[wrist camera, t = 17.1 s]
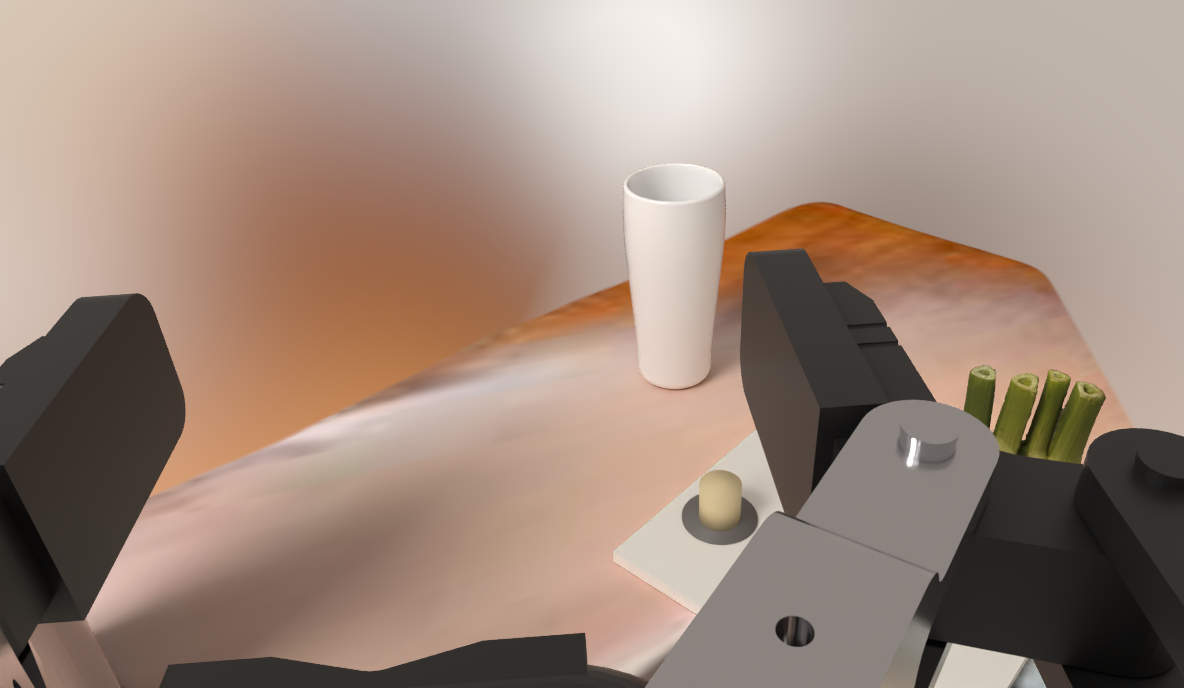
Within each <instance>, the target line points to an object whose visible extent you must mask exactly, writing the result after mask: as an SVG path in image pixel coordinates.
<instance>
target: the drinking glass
mask: <svg viewBox="0 0 1184 688" xmlns="http://www.w3.org/2000/svg"><path fill="white" fill-rule="evenodd" d="M725 203H726V200H725V181H724V179H723V177H722V176H721V175H720V174H719V173H717V172H716V171H714V170H711V169H709V168H706V167H703V166H698V165H693V164H682V163H670V164H660V165H653V166H649V167H646V168H642V169H640V170H638V171H635V172H633V173H632V174H630V175H629V176H628V177H627V178H626V179H625V181H624V184H623V231H624V243H625V253H626V261H627V269H628V277H629V285H630V292H631V300H632V308H633V316H634V324H635V332H636V341H637V357H638V369H639V372H640V374H641V375H642V377H643V378H644V379H645V380H646V381H648V382H649V383H651V384H653V385H655V386H658V387H661V388H666V389H683V388H688V387H691V386H694V385H696V384H698V383H700V382H701V381H702V380H704V379H705V378H706V376H707V375H708V373H709V371H710V367H711V347H712V338H713V329H714V321H715V313H716V305H717V297H718V289H719V281H720V273H721V265H722V258H723V249H724V238H725V237H724V236H725V219H726V204H725Z"/></svg>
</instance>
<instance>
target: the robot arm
mask: <svg viewBox="0 0 1184 688" xmlns="http://www.w3.org/2000/svg"><path fill="white" fill-rule="evenodd" d="M740 362H741V375H742V382H743V388H744V392H745V396H746V399H747V402H748V405H749V408H750V411H751V414H752V417H753V420H754V423H755V426H756V429H757V432H758V435H759V438H760V441H761V444H762V447H763V450H764V453H765V456H766V459H767V462H768V465H769V468H770V471H771V474H772V477H773V480H774V483H775V486H776V489H777V492H778V495H779V498H780V501H781V504H782V507H783V510H784V513H783V512H781V511H775V512H773V513H772V514H770V515H769V516H768V517H767V518H766V519H765V521H764V522H763V523H762V525H761V526H760V527H759V529H758V530H757V531H756V533H755V534H754V536H753V537H752V538H751V540H750V541H749V543H748V544H747V545H746V547H745V548H744V550H743V551H742V552H741V554H740V555H739V557H738V558H737V559H736V561H735V562H734V564H733V565H732V566H731V568H730V569H729V571H728V572H727V573H726V575H725V576H724V578H723V579H722V580H721V582H720V583H719V585H718V586H717V587H716V589H715V590H714V592H713V593H712V594H711V596H710V597H709V599H708V600H707V601H706V603H705V604H704V606H703V607H702V608H701V610H700V611H699V612H698V614H697V615H696V617H695V618H694V619H693V621H692V622H691V624H690V625H689V626H688V628H687V629H686V631H685V632H684V633H683V635H682V636H681V638H680V639H679V640H678V642H677V643H676V645H675V646H674V647H673V649H672V650H671V652H670V653H669V654H668V656H667V657H666V659H665V660H664V661H663V663H662V664H661V666H660V667H659V668H658V670H657V671H656V673H655V674H654V675H653V677H652V678H651V680H650V681H649V682H648V681H646V680H643V679H641V678H639V677H636V676H634V675H631V674H628V673H624V672H620V671H617V670H613V669H610V668H605V667H599V666H593V665H588V663H587V650H586V638H585V633H577V634H564V635H551V636H538V637H525V638H512V639H499V640H486V641H481V642H477V643H474V644H470V645H467V646H464V647H460V648H457V649H453V650H450V651H446V652H443V653H439V654H436V655H433V656H429V657H426V658H422V659H419V660H415V661H412V662H409V663H405V664H402V665H398V666H395V667H391V668H388V669H384V670H380V671H370V672H369V671H359V670H353V669H346V668H340V667H333V666H327V665H320V664H314V663H307V662H301V661H294V660H288V659H281V658H275V657H265V658H252V659H239V660H226V661H213V662H200V663H187V664H174V665H168V668H167V670H166V673H165V675H164V678H163V680H162V683H161V685H160V688H934V687H935V684H936V682H937V679H938V677H939V675H940V672H941V670H942V667H943V665H944V663H945V660H946V658H947V656H948V653H949V651H950V648H951V646H952V643H953V644H958V645H963V646H968V647H974V648H979V649H984V650H989V651H994V652H999V653H1005V654H1010V655H1015V656H1020V657H1025V658H1030V659H1033V660H1034V662H1035V664H1036V666H1037V668H1038V671H1039V673H1040V675H1041V677H1042V679H1043V681H1044V683H1045V685H1046V687H1047V688H1184V437H1183V436H1179V435H1176V434H1173V433H1169V432H1164V431H1159V430H1151V429H1142V428H1129V429H1119V430H1115V431H1110V432H1108V433H1105V434H1103V435H1101V436H1099V437H1098V438H1096V439H1095V440H1094V441H1093V442H1092V443H1091V445H1090V446H1089V449H1088V452H1087V455H1086V458H1085V461H1084V464H1076V463H1069V462H1061V461H1054V460H1047V459H1040V458H1033V457H1026V456H1021V455H1015V454H1011V453H1008V452H1004V451H1000V450H999V445H998V442H997V440H996V438H995V436H994V435H993V433H992V432H991V431H990V430H989V429H988V427H987V426H986V425H984V424H983V423H982V422H981V421H979V420H978V419H977V418H975V417H973V416H972V415H970V414H968V413H966V412H964V411H962V410H960V409H958V408H955V407H952V406H949V405H946V404H942V403H938V402H936V400H935V399H934V397H933V395H932V394H931V392H930V391H929V389H928V387H927V386H926V384H925V383H924V381H923V380H922V378H921V376H920V375H919V373H918V372H917V370H916V368H915V367H914V365H913V364H912V362H911V360H910V359H909V357H908V356H907V354H906V352H905V351H904V349H903V348H902V346H901V345H900V346H899V345H898V340H897V338H896V336H895V335H894V333H893V332H892V330H891V328H890V327H887V322H886V320H885V319H884V317H883V316H882V314H881V312H880V311H879V309H878V308H877V306H876V305H875V303H874V301H873V300H872V299H870V298H869V297H867V296H866V295H864V294H863V293H861V292H860V291H858V290H857V289H855V288H854V287H852V286H851V285H849V284H848V283H846V282H832V283H823V282H822V280H821V278H820V276H819V274H818V273H817V271H816V269H815V267H814V265H813V263H812V262H811V260H810V258H809V256H808V254H807V253H806V251H805V250H804V249H789V250H775V251H760V252H749V253H748V254H747V256H746V259H745V265H744V281H743V303H742V324H741V346H740ZM184 423H185V399H184V394H183V390H182V387H181V384H180V381H179V378H178V375H177V373H176V370H175V367H174V365H173V361H172V359H171V356H170V353H169V350H168V348H167V345H166V342H165V339H164V336H163V334H162V331H161V328H160V326H159V323H158V320H157V317H156V314H155V312H154V310H153V307H152V305H151V303H150V302H149V301H148V299H147V298H146V297H145V296H143V295H141V294H138V293H136V294H124V295H123V294H122V295H109V296H94V297H82V298H79V299H77V300H76V301H75V302H74V303H73V304H72V305H71V306H70V307H69V309H68V310H67V311H66V312H65V313H64V315H63V316H62V317H61V318H60V319H59V320H58V322H57V323H56V324H55V325H54V326H53V328H52V329H51V330H50V331H49V332H48V334H47V335H46V336H42V337H40V338H39V339H37V340H36V341H34V342H33V343H31V344H30V345H28V346H27V347H25V348H23V349H22V350H20V351H19V352H18V353H16V354H15V355H13V356H11V357H10V358H8V359H7V360H6V361H5V362H4V363H3V364H2V365H1V366H0V688H121V686H120V684H119V682H118V680H117V678H116V676H115V674H114V672H113V670H112V669H111V667H110V665H109V663H108V661H107V659H106V657H105V655H104V653H103V651H102V649H101V647H100V645H99V644H98V642H97V640H96V638H95V635H94V633H93V631H92V629H91V627H90V625H89V624H88V622H87V620H86V616H87V614H88V613H89V611H90V609H91V607H92V605H93V603H94V601H95V599H96V597H97V595H98V593H99V591H100V590H101V588H102V586H103V584H104V582H105V580H106V578H107V576H108V574H109V572H110V570H111V568H112V567H113V565H114V563H115V561H116V559H117V557H118V555H119V553H120V551H121V549H122V547H123V545H124V544H125V542H126V540H127V538H128V536H129V534H130V532H131V530H132V528H133V526H134V524H135V522H136V521H137V519H138V517H139V515H140V513H141V511H142V509H143V507H144V505H145V503H146V501H147V499H148V498H149V496H150V494H151V492H152V490H153V488H154V486H155V484H156V482H157V480H158V478H159V476H160V475H161V472H162V471H163V469H164V467H165V465H166V463H167V461H168V459H169V457H170V455H171V453H172V451H173V450H174V448H175V446H176V444H177V442H178V440H179V438H180V436H181V434H182V431H183V428H184Z"/></svg>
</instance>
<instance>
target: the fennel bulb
mask: <svg viewBox="0 0 1184 688" xmlns="http://www.w3.org/2000/svg"><path fill="white" fill-rule="evenodd" d="M995 380H996V371H995V369H992V368H991V366H984V365H983V366H980V367H976V368H973V369H972V370H971V371H970V374H969V380H968V387H967V395H966V401H965V406H964V412H966V413H968V414H970V415H972V416H973V417H975V418H977V419H978V420H979V421H981V422H982V423H983V424H984V425H986V426H987V427H988V429H989V430H990V422H991V415H992V409H993V401H994V392H995ZM1070 380H1071V379H1070V377H1069V376H1068V375H1067V374H1064V373H1061V372H1059V371H1057V370H1048V375H1047V379H1046V382H1045V385H1044V389H1043V392H1042V395H1041V398H1040V401H1039V404H1038V407H1037V409H1036V411H1035V414H1034V417H1033V420H1032V423H1031V426H1030V428H1029V432H1028V434H1027V435H1026V440H1023V441H1022V436H1023V433H1024V430H1025V427H1026V424H1027V421H1028V419H1029V418H1030V416H1031V410H1032V408H1033V405H1034V402H1035V398H1036V394H1037V392H1038V391H1037V388H1038V382H1039V378H1038V377H1037V376H1036V375H1033V374H1028V373H1026V374H1021V375H1017V376H1015V377H1012V379H1011V382H1010V385H1009V388H1008V392H1007V394H1006V396H1005V401H1004V403H1003V406H1002V409H1001V411H1000V414H999V417H998V420H997V423H996V426H995V430H994V432H993V435H994V436H995V438H996V440H997V442H998V445H999V450H1000V451H1004V452H1008V453H1011V454H1015V455H1021V456H1026V457H1033V458H1040V459H1047V460H1054V461H1061V462H1069V463H1076V464H1081V460H1082V454H1083V452H1084V448H1085V446H1086V443H1087V440H1088V437H1089V435H1090V432H1091V429H1092V427H1093V425H1094V423H1095V420H1096V417H1097V415H1098V413H1099V411H1100V409H1101V406H1102V405H1103V402H1104V401H1105V399H1106V397H1105V394H1104V393H1103V391H1102V390H1101V389H1099V388H1097V386H1096V385H1094V384H1090V383H1085V382H1079V381H1077V382H1076V384H1075V386H1074V388H1073V390H1072V392H1071V395H1070V397H1069V400H1068V401H1067V403H1066V405H1065V408H1064V409H1062V405H1063V402H1064V399H1065V397H1066V395H1067V390H1068V388H1069V385H1070Z"/></svg>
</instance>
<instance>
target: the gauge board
mask: <svg viewBox="0 0 1184 688" xmlns="http://www.w3.org/2000/svg"><path fill="white" fill-rule="evenodd" d="M775 511H781V512H783V513H784V510H783V507H782V504H781V501H780V498H779V495H778V492H777V489H776V486H775V483H774V480H773V477H772V474H771V471H770V468H769V465H768V462H767V459H766V456H765V453H764V450H763V447H762V444H761V441H760V438H759V435H758V432H757V429H756V430H755V431H753V432H752V433H751V434H750V435H749V436H748V437H746V438H745V439H744V440H743V441H742V442H740V443H739V444H738V445H737V446H736V447H735V448H733V449H732V450H731V451H730V452H729V453H728V454H726V455H725V456H724V457H723V458H722V459H721V460H719V461H718V462H717V463H716V464H715V465H714V466H712V467H711V468H710V469H709V470H708V471H707V472H705V473H704V474H703V475H702V476H701V477H700V478H698V479H697V480H696V481H695V482H694V483H693V484H691V485H690V486H689V487H688V488H687V489H686V490H684V491H683V492H682V493H681V494H680V495H679V496H677V497H676V498H675V499H674V500H673V501H672V502H670V503H669V504H668V505H667V506H666V507H665V508H663V509H662V510H661V511H660V512H659V513H658V514H656V515H655V516H654V517H653V518H652V519H651V520H649V521H648V522H647V523H646V524H645V525H644V526H642V527H641V528H640V529H639V530H638V531H637V532H635V533H634V534H633V535H632V536H631V537H629V538H628V539H627V540H626V541H625V542H624V543H622V544H621V545H620V546H619V547H618V548H617V549H615V550H614V551H613V562H615V563H616V564H618V565H619V566H621V567H623V568H624V569H626V570H627V571H629V572H630V573H632V574H634V575H635V576H637V577H638V578H640V579H642V580H643V581H645V582H646V583H648V584H649V585H651V586H653V587H654V588H656V589H657V590H659V591H660V592H662V593H664V594H665V595H667V596H668V597H670V598H671V599H673V600H675V601H676V602H678V603H679V604H681V605H682V606H684V607H686V608H687V609H689V610H690V611H692V612H693V613H695V614H698V612H699V611H700V610H701V608H702V607H703V606H704V604H705V603H706V601H707V600H708V599H709V597H710V596H711V594H712V593H713V592H714V590H715V589H716V587H717V586H718V585H719V583H720V582H721V580H722V579H723V578H724V576H725V575H726V573H727V572H728V571H729V569H730V568H731V566H732V565H733V564H734V562H735V561H736V559H737V558H738V557H739V555H740V554H741V552H742V551H743V550H744V548H745V547H746V545H747V544H748V543H749V541H750V540H751V538H752V537H753V536H754V534H755V533H756V531H757V530H758V529H759V527H760V526H761V525H762V523H763V522H764V521H765V519H766V518H767V517H768V516H769V515H770V514H772V513H773V512H775ZM1027 660H1028V658H1025V657H1020V656H1015V655H1010V654H1005V653H999V652H994V651H989V650H984V649H979V648H974V647H968V646H963V645H958V644H953V643H952V646H951V648H950V651H949V653H948V656H947V658H946V660H945V663H944V665H943V667H942V670H941V672H940V675H939V677H938V679H937V682H936V684H935V687H934V688H1011V686H1012V685H1013V683H1014V681H1015V680H1016V678H1017V676H1018V675H1019V673H1020V671H1021V670H1022V668H1023V667H1024V665H1025V663H1026V662H1027Z"/></svg>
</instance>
